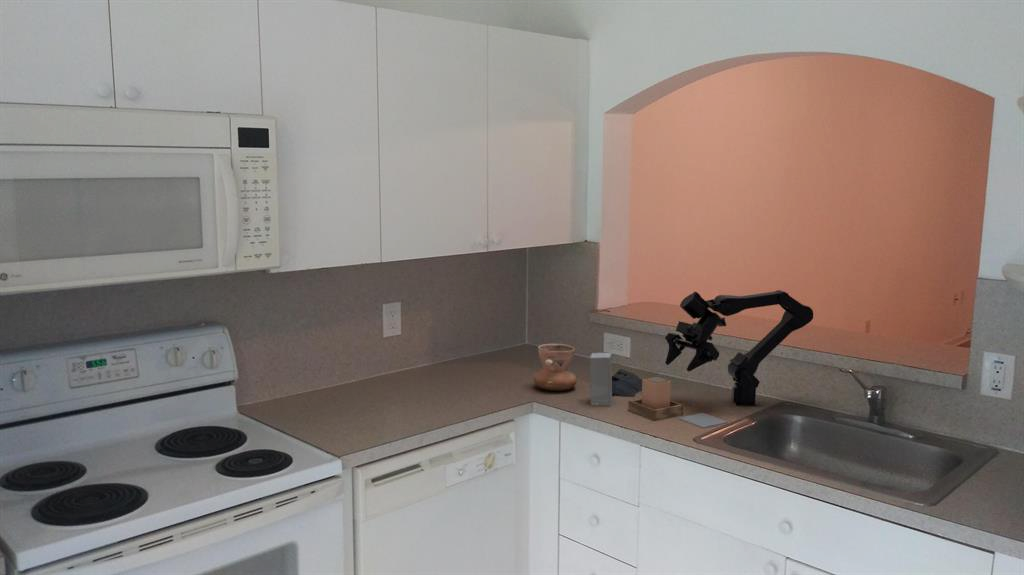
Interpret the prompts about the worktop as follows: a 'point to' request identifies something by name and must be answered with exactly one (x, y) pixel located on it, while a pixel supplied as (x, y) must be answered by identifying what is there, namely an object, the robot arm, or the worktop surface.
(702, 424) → the rubber mat
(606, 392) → the skincare box
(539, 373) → the brown clay vase
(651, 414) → the brown wooden tray
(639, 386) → the dark slate chunk
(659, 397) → the lidded terracotta box
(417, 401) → the worktop surface
